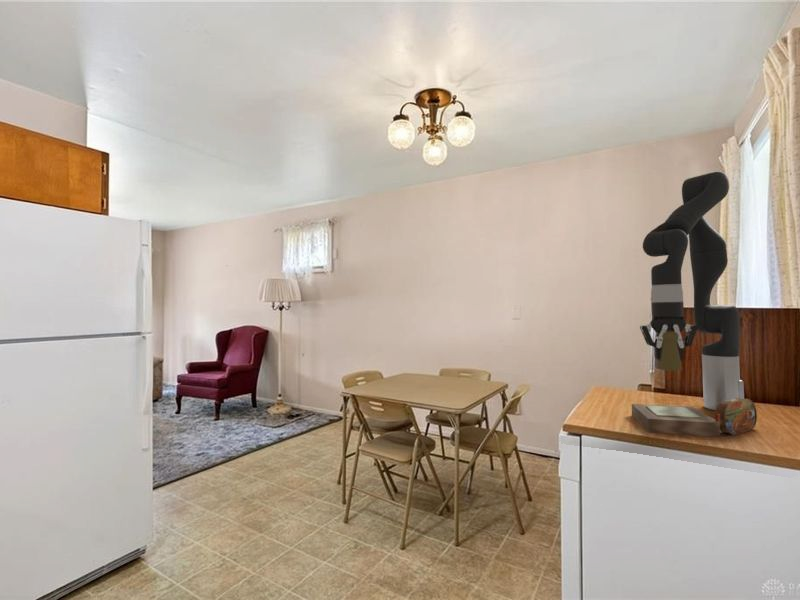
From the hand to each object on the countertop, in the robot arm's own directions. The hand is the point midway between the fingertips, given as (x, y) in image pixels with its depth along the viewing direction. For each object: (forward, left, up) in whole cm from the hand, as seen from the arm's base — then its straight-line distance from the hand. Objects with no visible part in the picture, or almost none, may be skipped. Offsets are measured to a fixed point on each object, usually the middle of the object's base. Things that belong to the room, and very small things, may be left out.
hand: (669, 360), depth 108 cm
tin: (-14, +2, -18) cm, 23 cm away
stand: (0, 0, -18) cm, 18 cm away
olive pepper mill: (0, 0, -2) cm, 2 cm away
